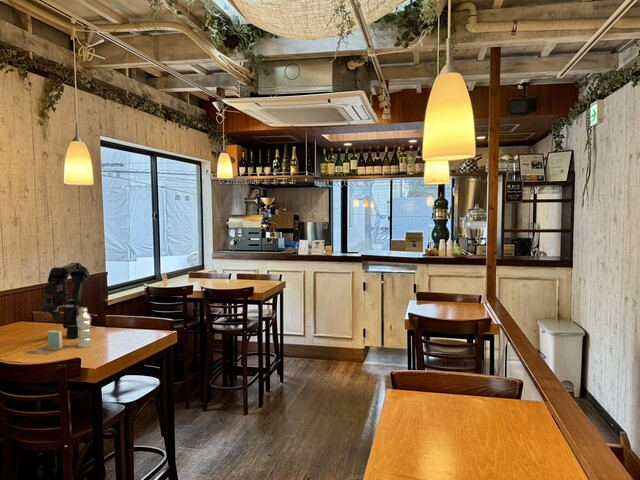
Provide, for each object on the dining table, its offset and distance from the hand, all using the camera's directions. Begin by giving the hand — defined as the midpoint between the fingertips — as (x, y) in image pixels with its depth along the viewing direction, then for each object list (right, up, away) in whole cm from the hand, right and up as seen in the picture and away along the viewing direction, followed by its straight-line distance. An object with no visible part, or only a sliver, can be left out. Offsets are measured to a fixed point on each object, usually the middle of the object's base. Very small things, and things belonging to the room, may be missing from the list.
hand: (62, 322), depth 218 cm
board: (-2, -12, -8) cm, 15 cm away
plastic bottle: (+14, -12, -4) cm, 19 cm away
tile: (-1, -12, -4) cm, 12 cm away
